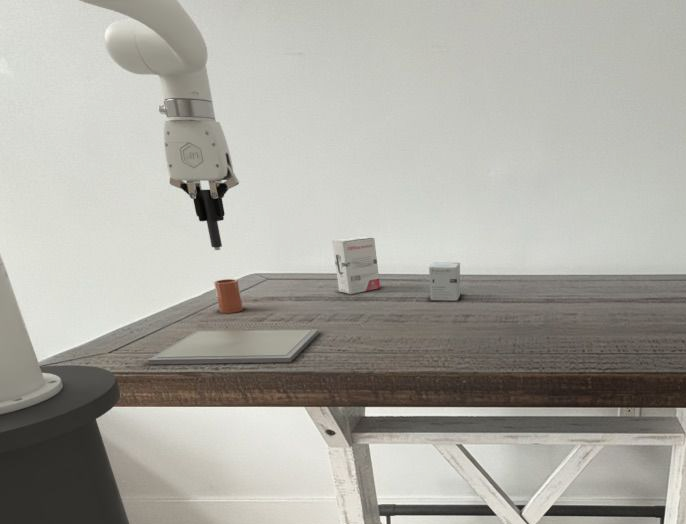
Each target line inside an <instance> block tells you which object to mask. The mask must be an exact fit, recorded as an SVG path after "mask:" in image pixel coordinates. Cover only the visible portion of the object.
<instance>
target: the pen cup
mask: <svg viewBox="0 0 686 524" xmlns="http://www.w3.org/2000/svg"><path fill="white" fill-rule="evenodd" d="M213 285H214V289H215V295H216V299H217V303H218V309H219V312H220V313H222V314H235V313H238V312H242V311H243V310H244V308H243V302H242V301H243V300H242V296H241V290H240V286H239V281H238V279H234V278H226V279H225V278H224V279H219V280H215V281H214V282H213Z"/></svg>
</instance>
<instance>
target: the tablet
mask: <svg viewBox="0 0 686 524" xmlns="http://www.w3.org/2000/svg"><path fill="white" fill-rule="evenodd" d="M319 334H320V332H319V329H316V328H315V329H264V330H263V329H260V330H258V329H257V330H256V329H254V330H253V329H249V330H246V329H245V330H196V331H195V332H193V333H191V334H189V335H187V336H186V337H184V338H183V339H181V340H179V341H178V342H175V343H174V344H172V345H170V346H169V347H167V348H165V349H164V350H162V351H160V352H158V353H157V354H155V355H154V356H152V357H150V358H149V359H147V361H148V365H202V364H203V365H205V364H207V365H208V364H209V365H211V364H261V363H262V364H267V363H268V364H269V363H270V364H275V363H292V362H293V361H294V360H295V359H296V358H297V357H298V355H300V354H301V353H302V352H303V351H304V349H305V348H307V347H308V346H309V345H310V343H311V342H312V341H313V340H314V339H316V337H317V336H318V335H319Z"/></svg>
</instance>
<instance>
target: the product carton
mask: <svg viewBox="0 0 686 524" xmlns="http://www.w3.org/2000/svg"><path fill="white" fill-rule="evenodd" d="M428 270H429V271H428V273H429V294H430V297H429V298H430V301H450V302H451V301H453V302H454V301H455V302H456V301H458V300H459V298H460V296H461V263H460V262H448V261H447V262H435V261H434V262H432V264H430V265H429V267H428Z"/></svg>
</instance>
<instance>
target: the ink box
mask: <svg viewBox="0 0 686 524" xmlns="http://www.w3.org/2000/svg"><path fill="white" fill-rule="evenodd" d="M331 244H332V249H333V250H332V251H333V258H334V264H335V271H336V279H337V285H338V292H340V293H343V294H348V295H355V294H359V293H364V292H370V291H373V290H378V289H379V290H380V289H381V284H380V276H379V267H378V266H379V265H378V259H377V258H378V257H377V249H376V248H377V247H376V242H375V237H373V236H359V237H351V238H341V239H340V238H339V239H333V240H331Z"/></svg>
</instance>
